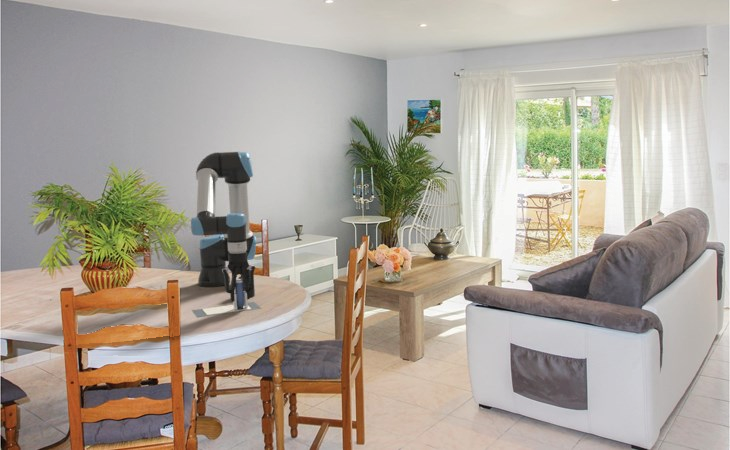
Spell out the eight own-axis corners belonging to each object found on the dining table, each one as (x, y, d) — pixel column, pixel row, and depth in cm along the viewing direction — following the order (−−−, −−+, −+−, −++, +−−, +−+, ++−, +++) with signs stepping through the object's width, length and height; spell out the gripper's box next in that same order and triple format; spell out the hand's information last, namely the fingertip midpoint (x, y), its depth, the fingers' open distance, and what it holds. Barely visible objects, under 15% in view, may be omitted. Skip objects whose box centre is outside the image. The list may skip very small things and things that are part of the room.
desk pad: (191, 311, 259) (191, 310, 258) (253, 302, 270) (253, 301, 269) (197, 318, 248) (197, 317, 248) (261, 309, 259) (261, 308, 259)
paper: (202, 309, 259) (202, 309, 259) (245, 303, 267) (245, 303, 267) (207, 315, 250) (207, 314, 250) (251, 309, 258) (251, 308, 258)
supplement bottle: (257, 295, 281) (256, 269, 280) (250, 299, 275) (248, 272, 273) (244, 294, 284) (242, 268, 282) (236, 298, 277) (234, 271, 276)
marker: (234, 308, 259) (233, 279, 257) (242, 307, 261) (240, 278, 259) (238, 310, 256) (236, 281, 254) (245, 308, 258) (244, 280, 256)
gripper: (218, 255, 248) (222, 313, 251) (260, 251, 255) (263, 307, 258) (214, 252, 254) (218, 308, 258) (255, 248, 262) (258, 303, 265)
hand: (240, 308), depth 258 cm, fingers open, 4 cm apart
